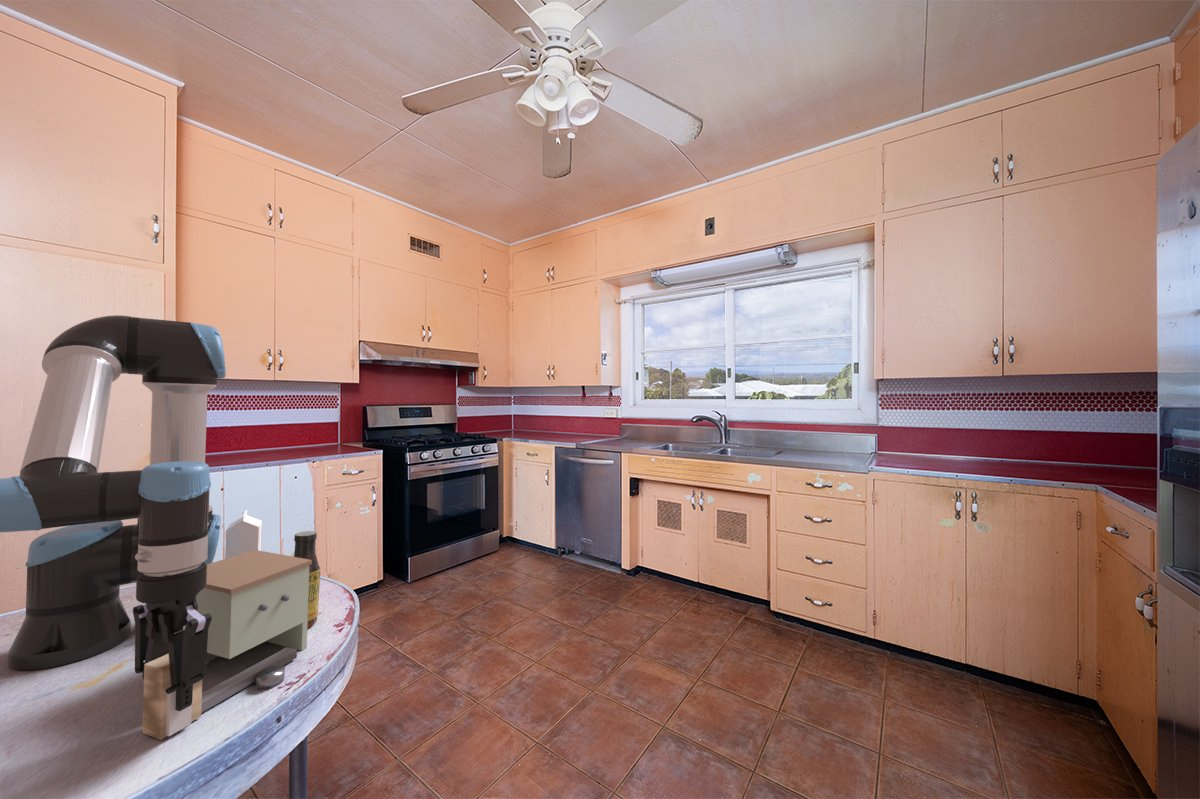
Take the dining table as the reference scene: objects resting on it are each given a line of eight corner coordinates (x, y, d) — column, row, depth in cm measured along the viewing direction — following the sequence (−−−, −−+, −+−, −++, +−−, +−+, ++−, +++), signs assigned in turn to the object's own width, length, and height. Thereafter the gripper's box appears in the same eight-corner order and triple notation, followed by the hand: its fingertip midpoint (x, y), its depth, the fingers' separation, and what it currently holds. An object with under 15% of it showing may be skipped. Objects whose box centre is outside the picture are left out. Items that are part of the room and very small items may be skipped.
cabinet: (165, 673, 78) (169, 575, 78) (252, 632, 92) (255, 549, 92) (229, 694, 73) (233, 590, 73) (311, 647, 87) (313, 560, 87)
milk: (223, 613, 99) (225, 516, 99) (228, 602, 105) (230, 510, 105) (257, 607, 103) (259, 513, 103) (260, 597, 108) (262, 507, 108)
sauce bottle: (300, 635, 92) (303, 539, 92) (275, 631, 93) (278, 536, 93) (325, 620, 98) (328, 530, 98) (302, 616, 99) (304, 528, 99)
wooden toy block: (142, 732, 64) (144, 664, 64) (284, 654, 84) (285, 601, 84) (160, 739, 63) (162, 669, 63) (299, 658, 83) (301, 605, 83)
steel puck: (249, 687, 75) (250, 676, 75) (273, 673, 79) (273, 663, 79) (267, 692, 74) (267, 681, 74) (290, 678, 78) (290, 668, 78)
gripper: (103, 568, 64) (97, 728, 64) (181, 586, 59) (175, 760, 59) (166, 551, 72) (161, 696, 71) (241, 566, 66) (236, 722, 66)
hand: (167, 724), depth 65 cm, fingers closed on wooden toy block, 4 cm apart
